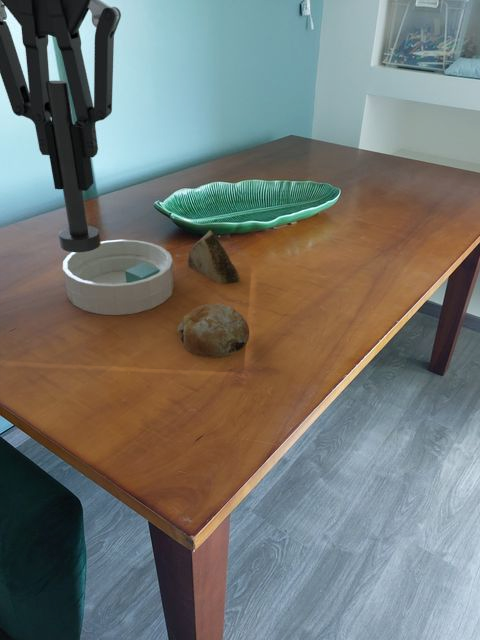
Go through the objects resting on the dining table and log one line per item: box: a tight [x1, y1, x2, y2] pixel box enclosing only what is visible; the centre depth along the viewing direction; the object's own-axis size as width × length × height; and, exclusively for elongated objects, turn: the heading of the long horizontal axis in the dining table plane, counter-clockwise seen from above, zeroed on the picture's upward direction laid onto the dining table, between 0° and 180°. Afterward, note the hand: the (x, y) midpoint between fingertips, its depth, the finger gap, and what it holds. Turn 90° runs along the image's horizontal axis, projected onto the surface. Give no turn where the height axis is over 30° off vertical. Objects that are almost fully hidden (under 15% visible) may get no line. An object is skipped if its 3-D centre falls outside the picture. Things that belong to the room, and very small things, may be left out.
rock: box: [187, 230, 241, 285], centre depth 97 cm, size 11×9×10 cm
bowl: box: [62, 239, 175, 316], centre depth 91 cm, size 18×18×6 cm
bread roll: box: [177, 303, 250, 359], centre depth 79 cm, size 10×10×8 cm
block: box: [125, 263, 159, 283], centre depth 90 cm, size 4×4×4 cm
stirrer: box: [46, 80, 101, 253], centre depth 57 cm, size 4×4×17 cm
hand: (74, 185), depth 59 cm, fingers closed on stirrer, 2 cm apart
